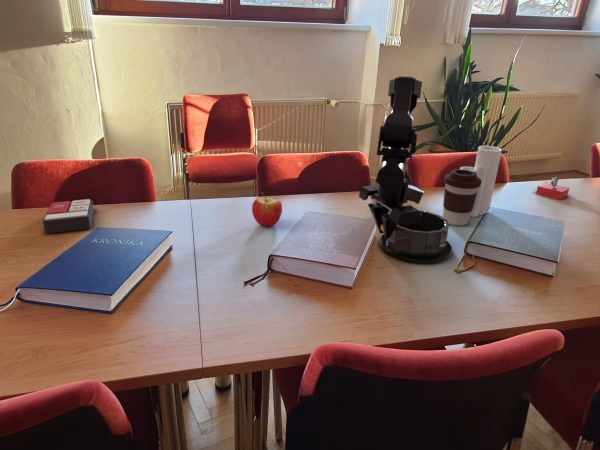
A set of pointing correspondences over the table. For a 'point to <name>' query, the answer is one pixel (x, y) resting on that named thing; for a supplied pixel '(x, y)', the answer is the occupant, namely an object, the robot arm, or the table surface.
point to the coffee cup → (460, 196)
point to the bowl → (420, 236)
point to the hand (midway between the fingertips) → (384, 235)
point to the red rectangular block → (552, 189)
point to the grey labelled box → (68, 216)
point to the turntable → (415, 259)
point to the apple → (266, 211)
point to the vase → (485, 177)
